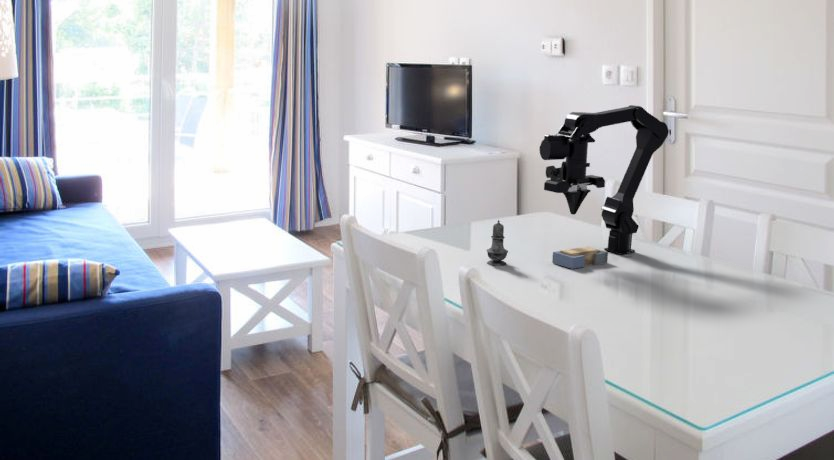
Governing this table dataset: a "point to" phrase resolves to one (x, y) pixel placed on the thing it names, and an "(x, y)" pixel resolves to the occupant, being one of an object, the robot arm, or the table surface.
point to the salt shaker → (497, 247)
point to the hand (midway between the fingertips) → (573, 214)
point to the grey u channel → (600, 257)
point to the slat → (582, 253)
